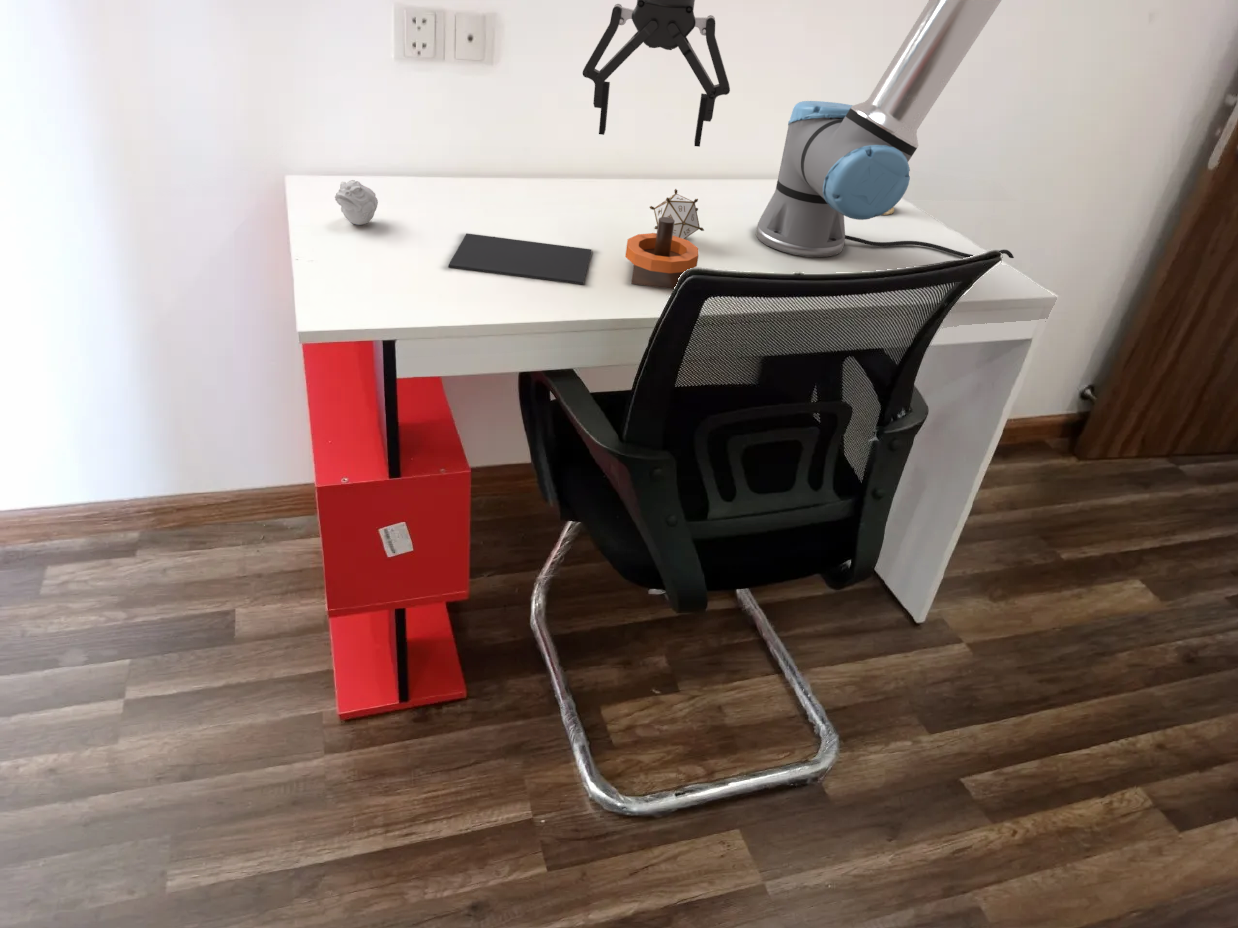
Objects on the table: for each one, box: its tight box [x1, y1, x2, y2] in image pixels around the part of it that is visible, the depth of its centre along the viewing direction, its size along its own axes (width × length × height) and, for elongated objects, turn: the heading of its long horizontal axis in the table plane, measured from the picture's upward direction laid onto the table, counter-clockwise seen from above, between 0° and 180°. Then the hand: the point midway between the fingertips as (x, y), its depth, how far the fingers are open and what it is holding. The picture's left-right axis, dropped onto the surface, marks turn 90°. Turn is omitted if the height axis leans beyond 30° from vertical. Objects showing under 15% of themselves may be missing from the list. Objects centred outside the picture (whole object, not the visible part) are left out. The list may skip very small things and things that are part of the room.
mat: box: [447, 232, 592, 285], centre depth 139 cm, size 20×13×1 cm, turn 86°
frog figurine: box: [334, 179, 379, 226], centre depth 141 cm, size 6×7×7 cm
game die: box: [649, 188, 705, 240], centre depth 149 cm, size 9×8×10 cm
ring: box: [625, 232, 699, 273], centre depth 137 cm, size 11×11×2 cm
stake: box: [631, 217, 683, 290], centre depth 136 cm, size 8×8×9 cm
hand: (649, 138), depth 129 cm, fingers open, 13 cm apart
